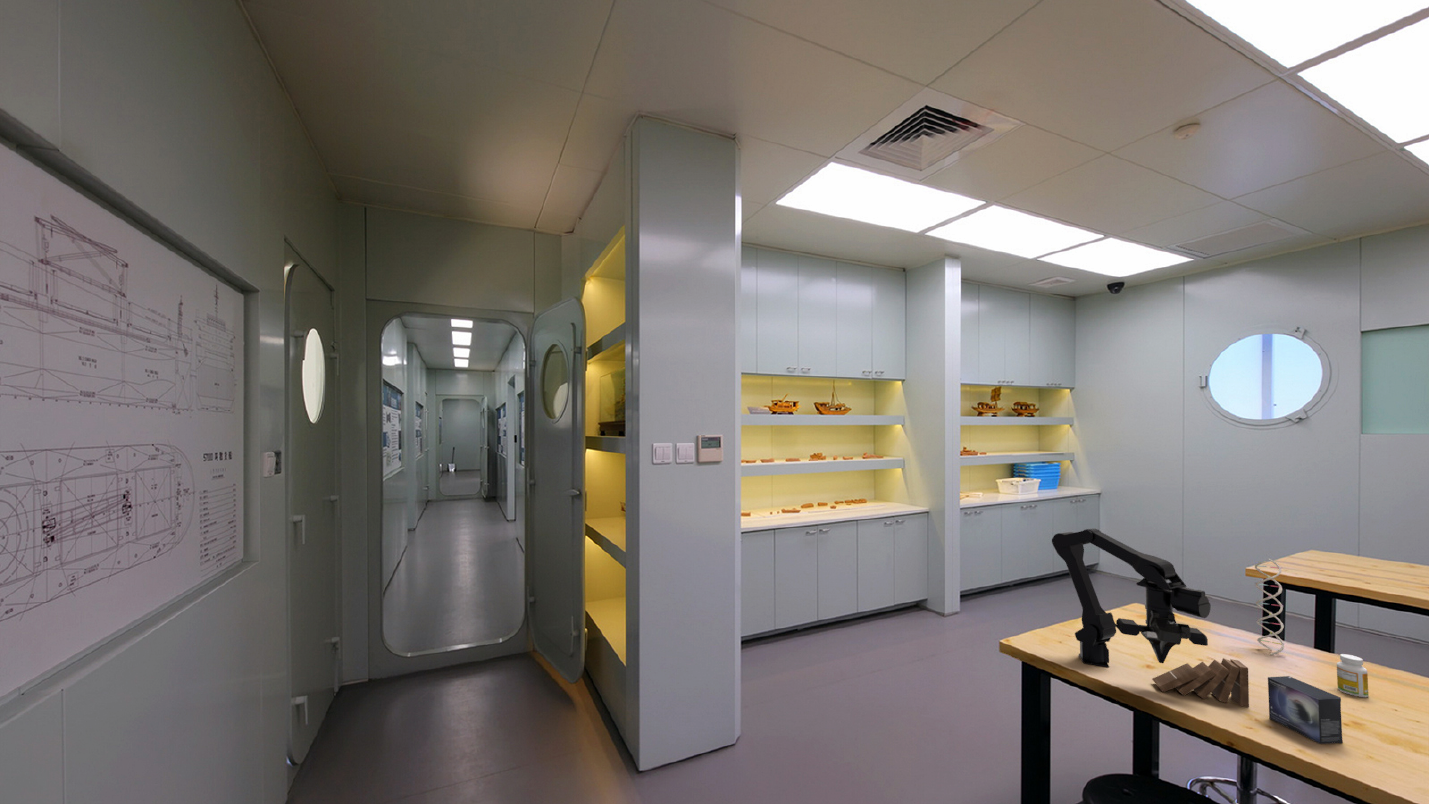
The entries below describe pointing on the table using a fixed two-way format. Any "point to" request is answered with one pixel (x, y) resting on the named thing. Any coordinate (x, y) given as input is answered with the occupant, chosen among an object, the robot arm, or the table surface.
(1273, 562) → the dna model
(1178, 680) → the domino
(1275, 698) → the small box
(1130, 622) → the robot arm
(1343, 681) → the supplement bottle
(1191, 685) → the domino
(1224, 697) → the domino
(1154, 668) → the table surface
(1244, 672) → the domino
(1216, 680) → the domino
